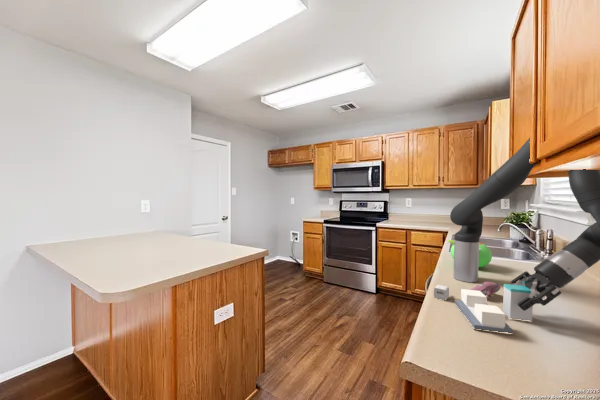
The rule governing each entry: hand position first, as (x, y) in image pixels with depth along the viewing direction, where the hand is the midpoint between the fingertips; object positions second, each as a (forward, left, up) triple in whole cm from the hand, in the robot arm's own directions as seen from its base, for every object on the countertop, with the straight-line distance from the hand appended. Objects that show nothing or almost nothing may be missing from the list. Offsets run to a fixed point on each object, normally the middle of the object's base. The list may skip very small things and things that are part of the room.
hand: (512, 301), depth 78 cm
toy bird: (-57, +7, -5) cm, 58 cm away
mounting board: (+3, -10, -5) cm, 11 cm away
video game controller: (-16, -2, -5) cm, 17 cm away
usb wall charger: (-11, -17, -5) cm, 21 cm away
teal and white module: (0, +1, -5) cm, 5 cm away
